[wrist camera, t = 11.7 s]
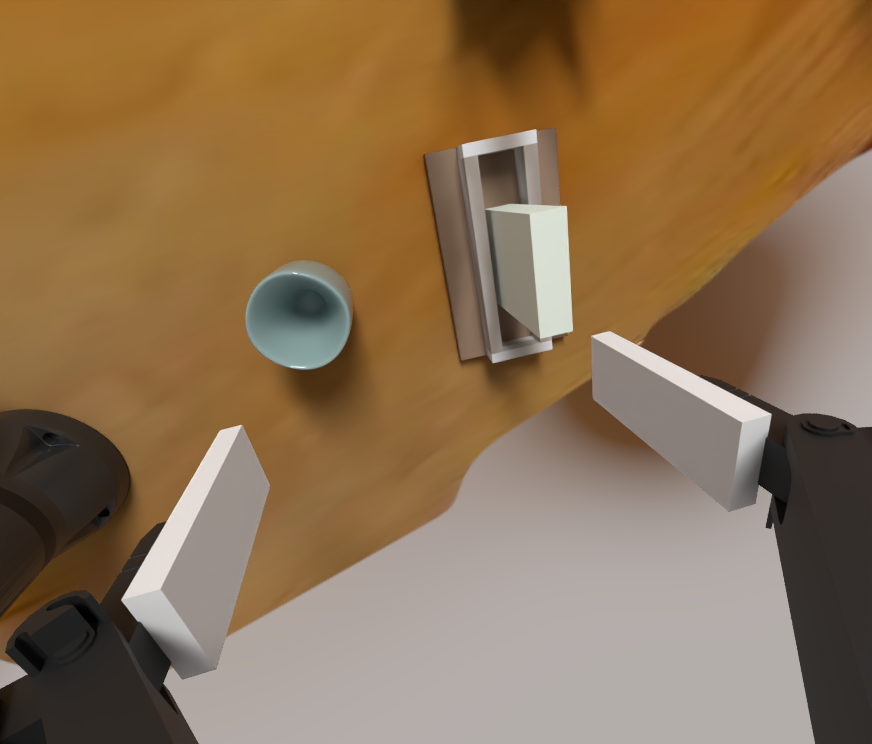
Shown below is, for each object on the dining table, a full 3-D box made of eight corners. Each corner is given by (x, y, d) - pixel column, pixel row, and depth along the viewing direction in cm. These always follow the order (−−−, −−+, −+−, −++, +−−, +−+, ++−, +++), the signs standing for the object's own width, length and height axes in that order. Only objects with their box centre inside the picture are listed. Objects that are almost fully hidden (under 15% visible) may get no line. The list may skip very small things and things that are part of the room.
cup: (366, 274, 40) (366, 296, 31) (339, 344, 42) (330, 384, 33) (287, 239, 38) (261, 253, 28) (262, 315, 40) (230, 350, 31)
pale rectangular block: (495, 301, 42) (540, 338, 31) (483, 209, 38) (529, 214, 27) (521, 296, 42) (575, 330, 31) (512, 203, 38) (569, 205, 27)
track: (459, 357, 45) (466, 369, 42) (423, 155, 36) (428, 151, 33) (563, 332, 45) (578, 343, 42) (551, 129, 37) (568, 122, 34)
